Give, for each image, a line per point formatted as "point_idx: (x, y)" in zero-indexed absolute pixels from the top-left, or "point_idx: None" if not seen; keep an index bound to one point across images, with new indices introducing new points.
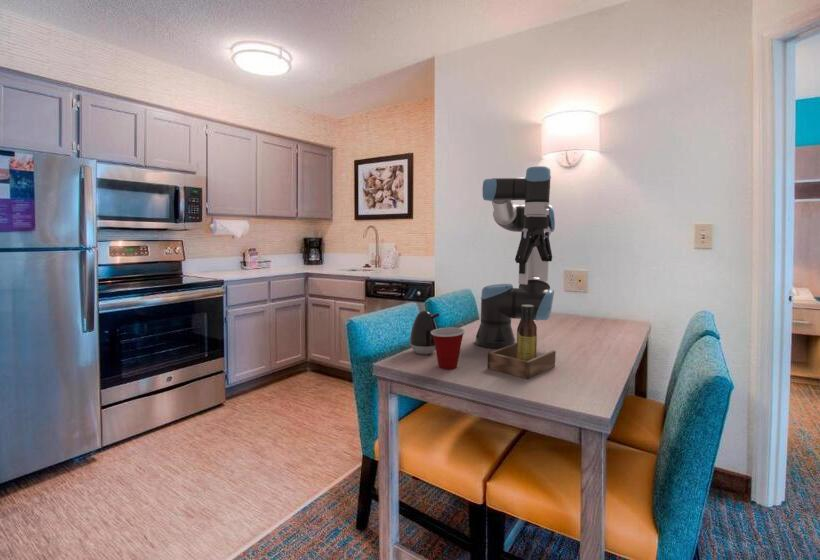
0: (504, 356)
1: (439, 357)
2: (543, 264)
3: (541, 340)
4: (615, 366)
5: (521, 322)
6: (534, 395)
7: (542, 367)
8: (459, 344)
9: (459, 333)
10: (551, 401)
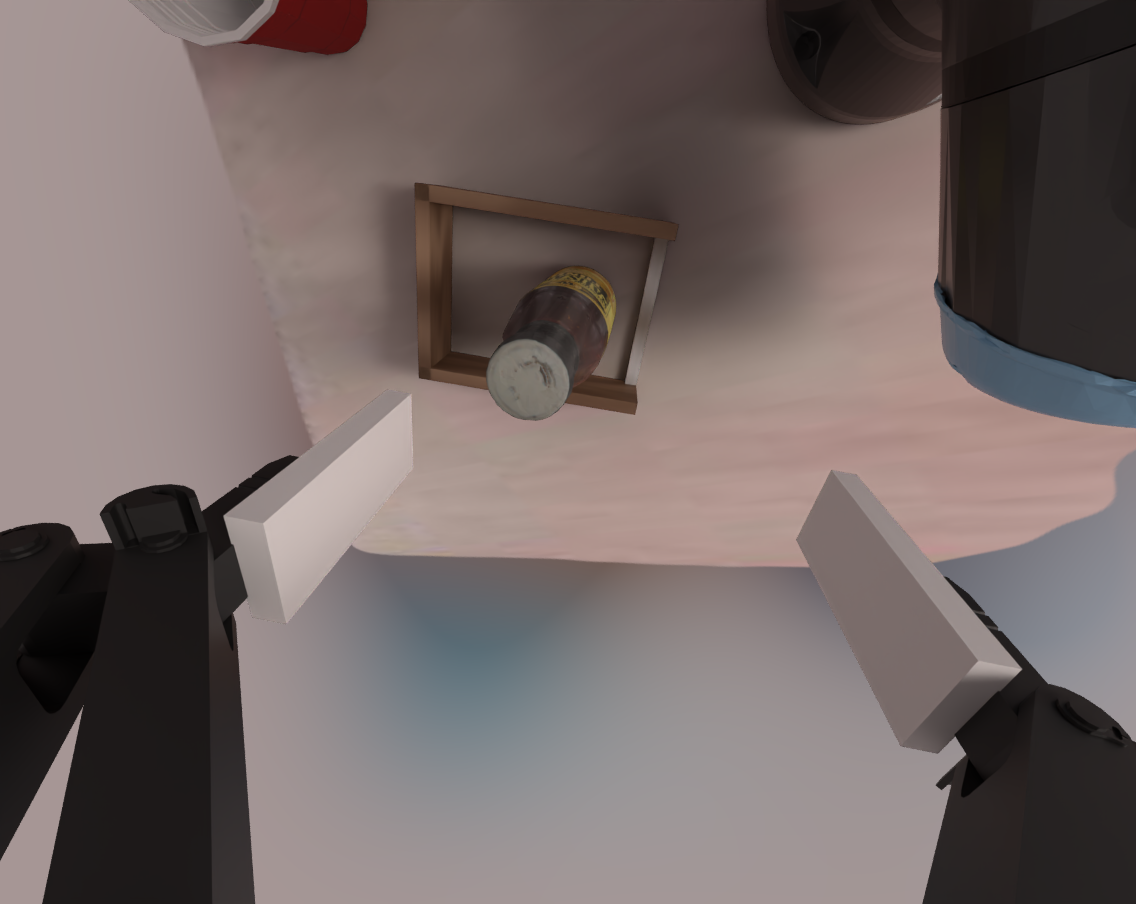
0: (420, 273)
1: None
2: (906, 659)
3: None
4: (736, 539)
5: (515, 327)
6: (339, 414)
7: None
8: (261, 43)
9: (189, 35)
10: None
